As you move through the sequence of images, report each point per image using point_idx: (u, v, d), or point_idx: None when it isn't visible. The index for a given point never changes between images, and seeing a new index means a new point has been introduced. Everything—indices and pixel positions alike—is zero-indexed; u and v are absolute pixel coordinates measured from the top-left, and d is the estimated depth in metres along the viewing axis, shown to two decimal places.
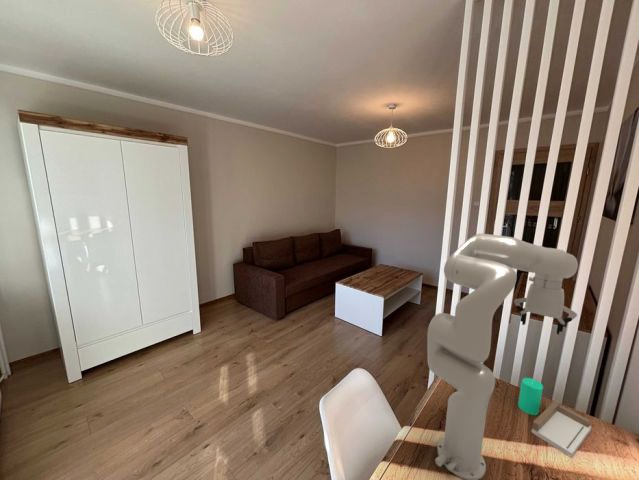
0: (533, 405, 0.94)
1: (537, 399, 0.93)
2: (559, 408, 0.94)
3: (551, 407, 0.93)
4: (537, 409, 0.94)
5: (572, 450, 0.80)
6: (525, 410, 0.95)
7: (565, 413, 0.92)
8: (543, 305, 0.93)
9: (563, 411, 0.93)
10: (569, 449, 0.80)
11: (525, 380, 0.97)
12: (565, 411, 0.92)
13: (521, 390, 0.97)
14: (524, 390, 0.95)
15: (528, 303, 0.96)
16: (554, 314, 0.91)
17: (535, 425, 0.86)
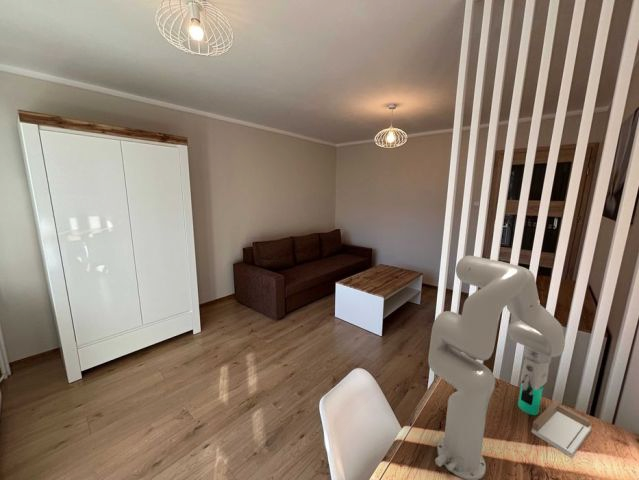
0: (533, 405, 0.94)
1: (536, 399, 0.93)
2: (559, 408, 0.94)
3: (551, 407, 0.93)
4: (537, 409, 0.94)
5: (572, 450, 0.80)
6: (525, 410, 0.95)
7: (565, 413, 0.92)
8: None
9: (563, 411, 0.93)
10: (569, 449, 0.80)
11: None
12: (565, 411, 0.92)
13: (521, 390, 0.97)
14: None
15: (537, 382, 0.91)
16: (546, 380, 0.94)
17: (535, 425, 0.86)
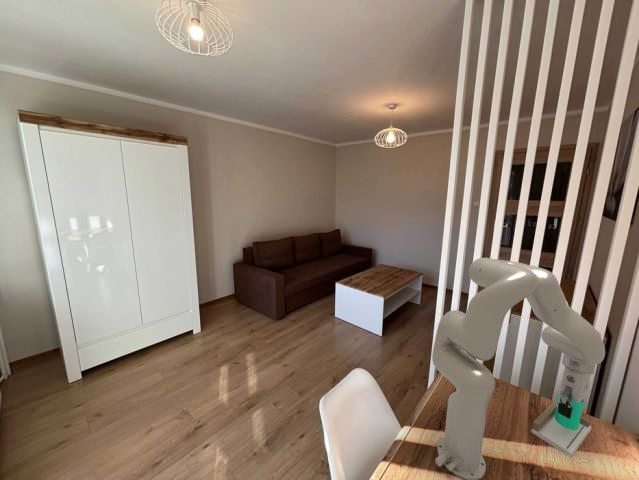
0: (573, 420, 0.86)
1: (577, 413, 0.86)
2: None
3: (551, 407, 0.93)
4: (577, 424, 0.86)
5: (572, 450, 0.80)
6: (564, 424, 0.88)
7: None
8: (585, 388, 0.85)
9: None
10: (569, 449, 0.80)
11: None
12: None
13: None
14: None
15: (580, 395, 0.83)
16: (587, 391, 0.87)
17: (535, 425, 0.86)
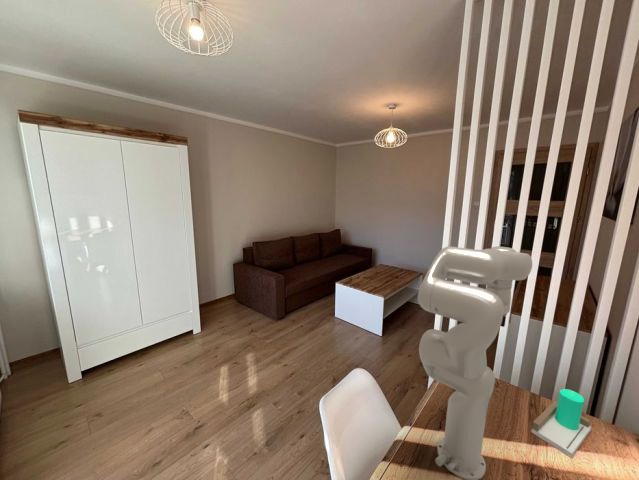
0: (573, 420, 0.86)
1: (577, 413, 0.86)
2: None
3: (551, 407, 0.93)
4: (577, 424, 0.86)
5: (572, 450, 0.80)
6: (564, 424, 0.88)
7: None
8: (504, 305, 0.90)
9: None
10: (569, 449, 0.80)
11: (563, 392, 0.90)
12: None
13: (559, 402, 0.89)
14: (563, 403, 0.88)
15: None
16: (508, 310, 0.92)
17: (535, 425, 0.86)
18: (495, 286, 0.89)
